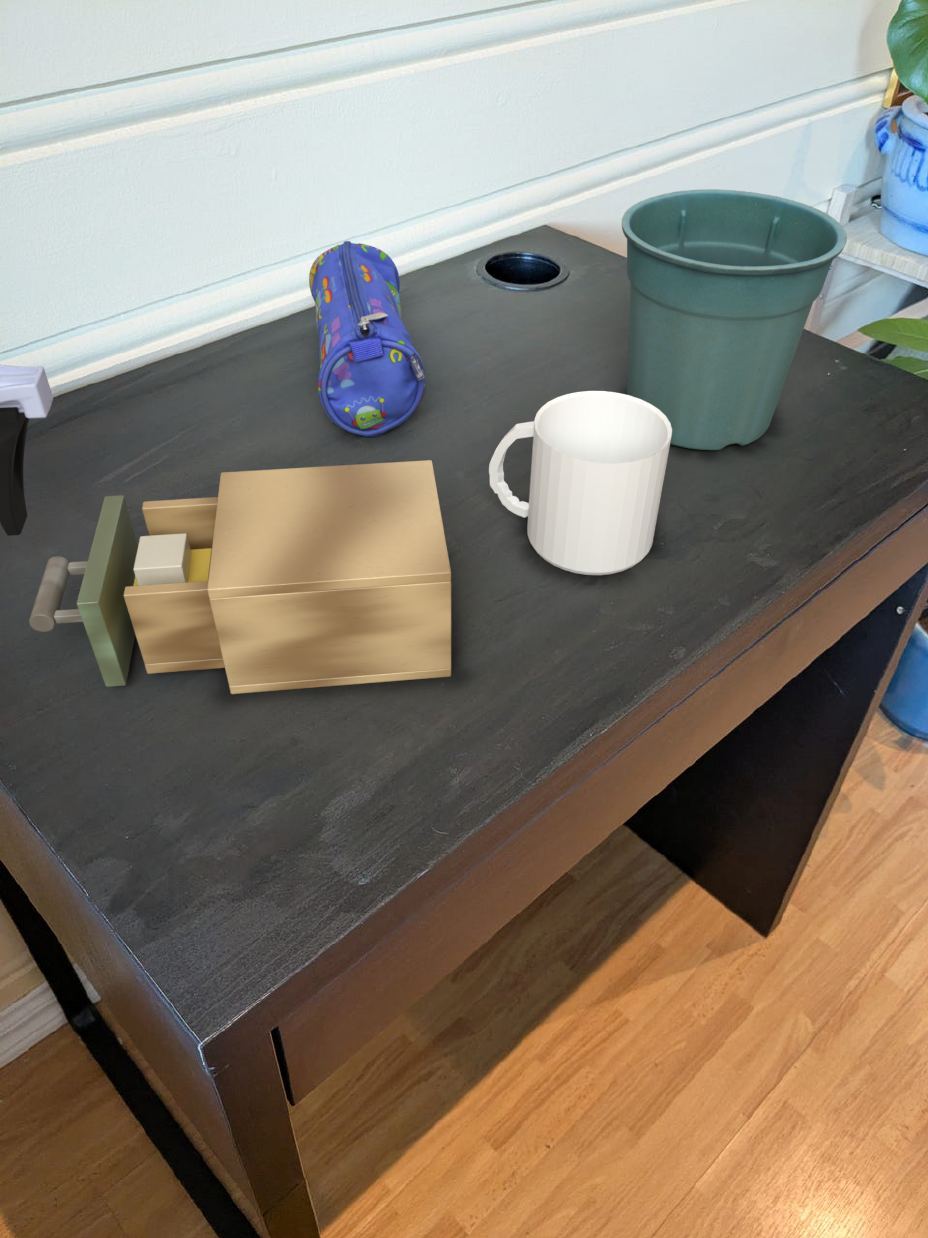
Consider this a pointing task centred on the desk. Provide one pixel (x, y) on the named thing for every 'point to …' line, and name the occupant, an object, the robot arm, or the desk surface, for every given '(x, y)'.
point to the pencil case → (363, 341)
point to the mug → (590, 480)
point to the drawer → (137, 594)
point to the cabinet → (330, 576)
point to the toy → (170, 561)
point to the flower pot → (721, 306)
